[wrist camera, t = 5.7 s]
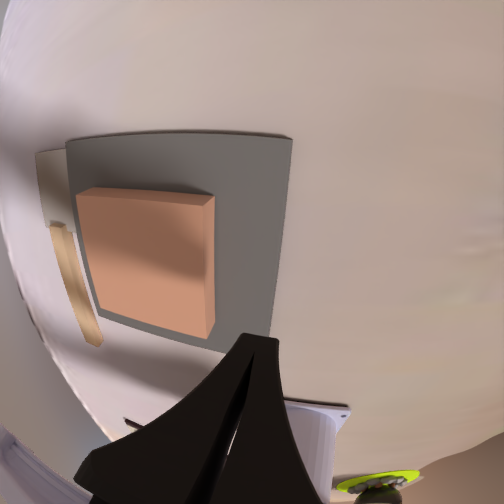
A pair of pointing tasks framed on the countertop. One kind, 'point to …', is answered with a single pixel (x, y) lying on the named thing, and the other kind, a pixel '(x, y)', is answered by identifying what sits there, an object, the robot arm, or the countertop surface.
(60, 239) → the turner
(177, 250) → the tile
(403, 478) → the toy cauldron
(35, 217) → the countertop surface
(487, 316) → the countertop surface
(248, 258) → the mat
